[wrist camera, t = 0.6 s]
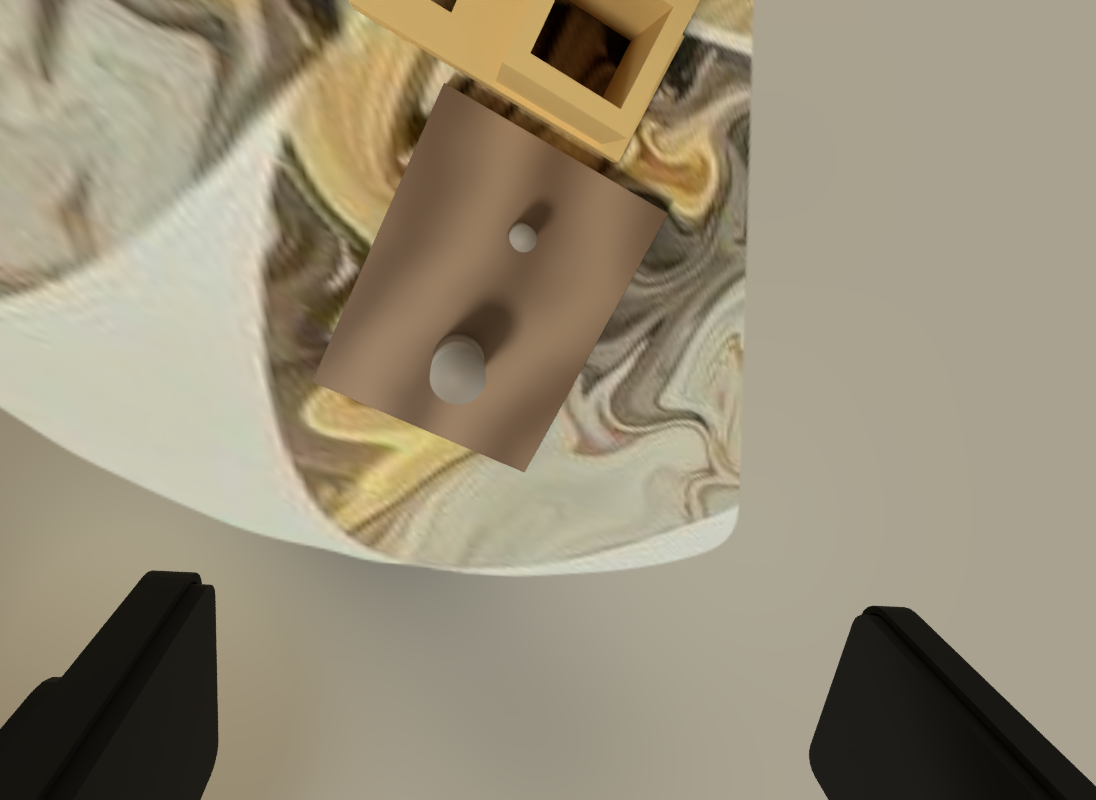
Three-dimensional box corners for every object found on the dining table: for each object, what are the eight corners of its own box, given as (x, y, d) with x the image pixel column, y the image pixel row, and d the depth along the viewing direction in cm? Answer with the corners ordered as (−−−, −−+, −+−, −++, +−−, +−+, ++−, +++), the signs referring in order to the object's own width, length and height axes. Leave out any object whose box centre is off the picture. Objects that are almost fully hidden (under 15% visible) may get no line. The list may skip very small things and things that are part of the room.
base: (316, 375, 38) (295, 404, 34) (444, 85, 34) (441, 70, 29) (522, 464, 42) (530, 502, 37) (661, 212, 38) (691, 217, 33)
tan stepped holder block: (675, 41, 35) (729, 8, 28) (612, 162, 37) (648, 159, 30) (411, -136, 31) (396, -227, 24) (353, 9, 33) (324, -37, 26)
